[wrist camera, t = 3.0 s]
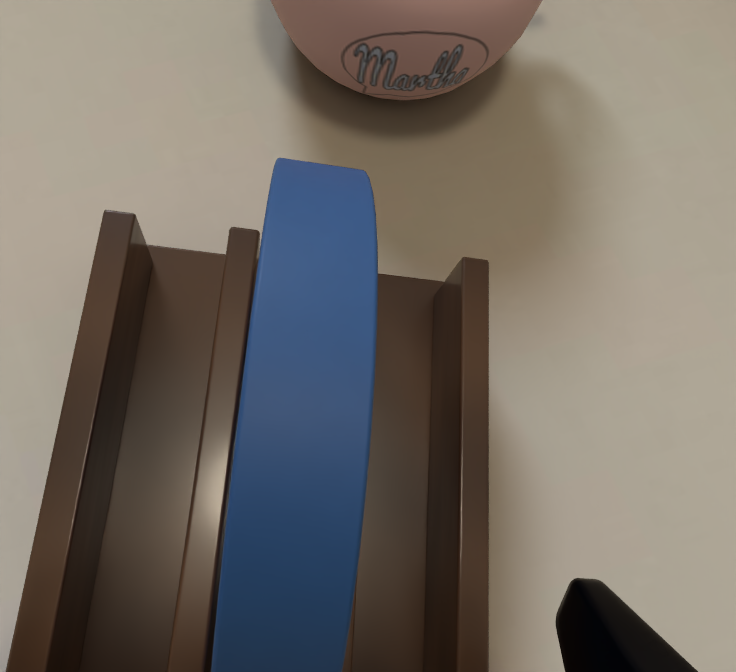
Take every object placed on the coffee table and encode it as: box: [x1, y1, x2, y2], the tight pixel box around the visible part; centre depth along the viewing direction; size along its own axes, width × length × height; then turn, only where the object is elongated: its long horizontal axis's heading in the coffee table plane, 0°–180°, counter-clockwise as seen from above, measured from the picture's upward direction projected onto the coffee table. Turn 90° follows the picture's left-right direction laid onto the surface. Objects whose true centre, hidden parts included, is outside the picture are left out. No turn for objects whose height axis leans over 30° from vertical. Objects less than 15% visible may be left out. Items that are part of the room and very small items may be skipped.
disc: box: [211, 158, 378, 672], centre depth 13 cm, size 11×2×11 cm, turn 177°
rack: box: [6, 210, 489, 672], centre depth 17 cm, size 13×12×4 cm
